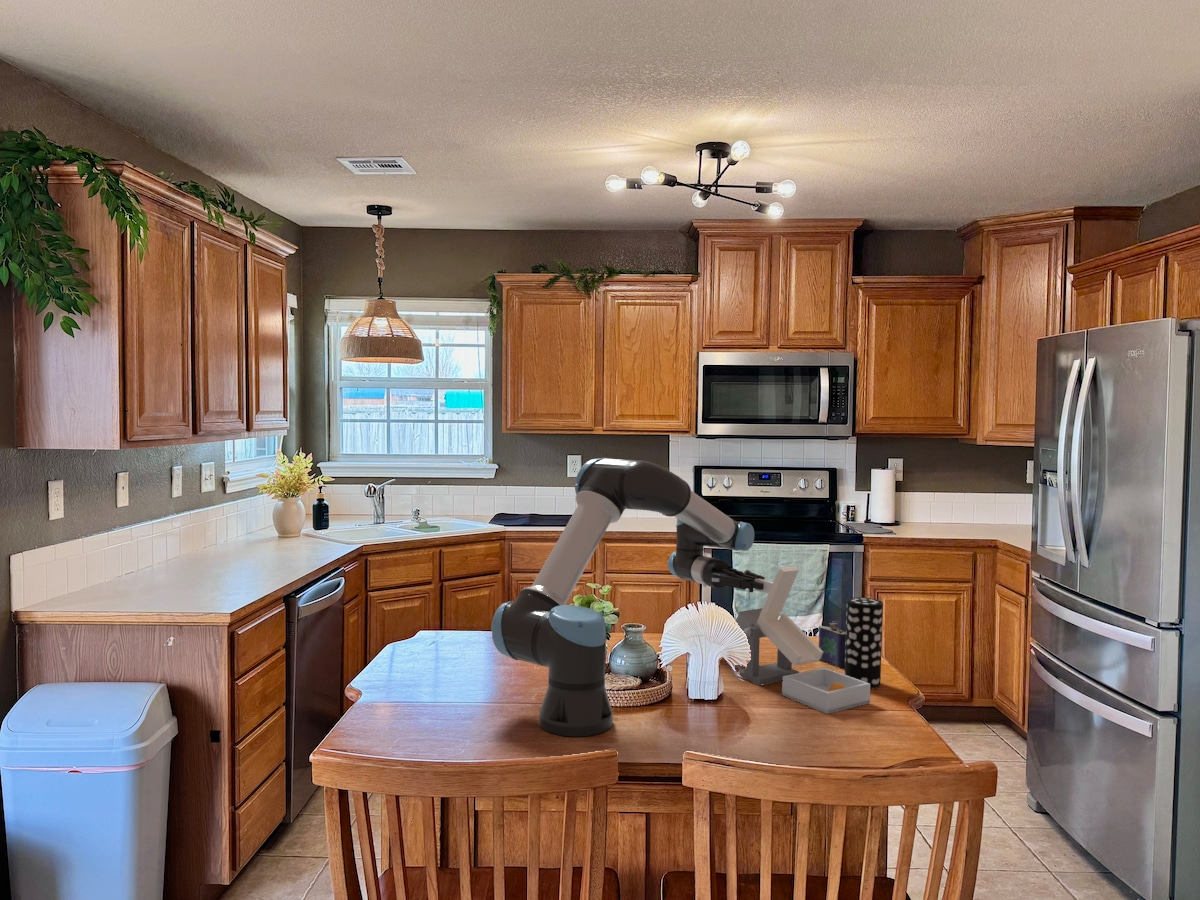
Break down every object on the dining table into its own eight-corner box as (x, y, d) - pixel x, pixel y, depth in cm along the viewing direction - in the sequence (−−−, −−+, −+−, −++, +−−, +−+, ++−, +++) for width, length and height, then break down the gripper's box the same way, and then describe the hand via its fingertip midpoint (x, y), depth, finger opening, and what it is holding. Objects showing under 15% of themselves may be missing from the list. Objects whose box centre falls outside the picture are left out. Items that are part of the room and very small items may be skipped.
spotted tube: (882, 690, 199) (885, 606, 198) (845, 687, 200) (848, 603, 200) (878, 679, 207) (880, 598, 206) (842, 676, 209) (845, 596, 208)
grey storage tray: (869, 703, 189) (870, 683, 189) (827, 714, 182) (827, 693, 182) (823, 686, 201) (824, 667, 201) (782, 695, 194) (782, 676, 193)
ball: (847, 679, 188) (833, 679, 191) (835, 687, 186) (822, 687, 189) (853, 696, 188) (839, 696, 191) (842, 704, 186) (828, 704, 189)
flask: (815, 659, 223) (817, 619, 222) (824, 658, 224) (825, 618, 224) (841, 669, 215) (842, 627, 214) (849, 668, 216) (851, 626, 216)
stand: (801, 676, 208) (802, 624, 207) (756, 686, 200) (758, 632, 199) (777, 668, 214) (779, 617, 214) (734, 677, 207) (735, 624, 206)
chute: (811, 679, 201) (845, 606, 192) (785, 685, 196) (819, 610, 187) (757, 623, 216) (786, 553, 207) (732, 627, 212) (761, 556, 203)
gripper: (730, 583, 229) (794, 601, 209) (692, 588, 222) (755, 607, 202) (730, 556, 228) (794, 571, 208) (693, 560, 221) (756, 576, 201)
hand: (775, 588), depth 205 cm, fingers closed
